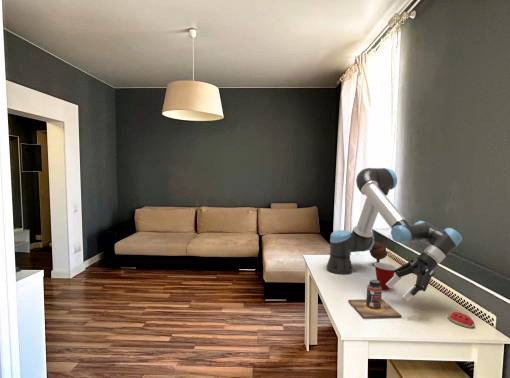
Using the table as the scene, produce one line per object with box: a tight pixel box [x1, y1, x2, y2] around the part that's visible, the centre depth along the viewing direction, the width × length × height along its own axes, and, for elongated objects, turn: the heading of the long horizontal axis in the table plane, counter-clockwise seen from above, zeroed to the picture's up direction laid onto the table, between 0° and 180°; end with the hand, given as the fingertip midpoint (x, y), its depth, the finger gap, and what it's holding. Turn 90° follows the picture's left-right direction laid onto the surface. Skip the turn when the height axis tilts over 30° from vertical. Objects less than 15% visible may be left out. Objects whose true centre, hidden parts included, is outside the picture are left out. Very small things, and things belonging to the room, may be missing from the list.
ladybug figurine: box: [447, 310, 476, 329], centre depth 121 cm, size 7×10×4 cm
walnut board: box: [347, 298, 403, 320], centre depth 132 cm, size 16×16×1 cm
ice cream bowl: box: [368, 241, 389, 267], centre depth 194 cm, size 11×11×15 cm
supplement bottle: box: [365, 279, 383, 309], centre depth 132 cm, size 6×6×11 cm
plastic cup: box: [373, 262, 398, 291], centre depth 156 cm, size 11×11×12 cm
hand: (395, 292), depth 132 cm, fingers open, 13 cm apart
